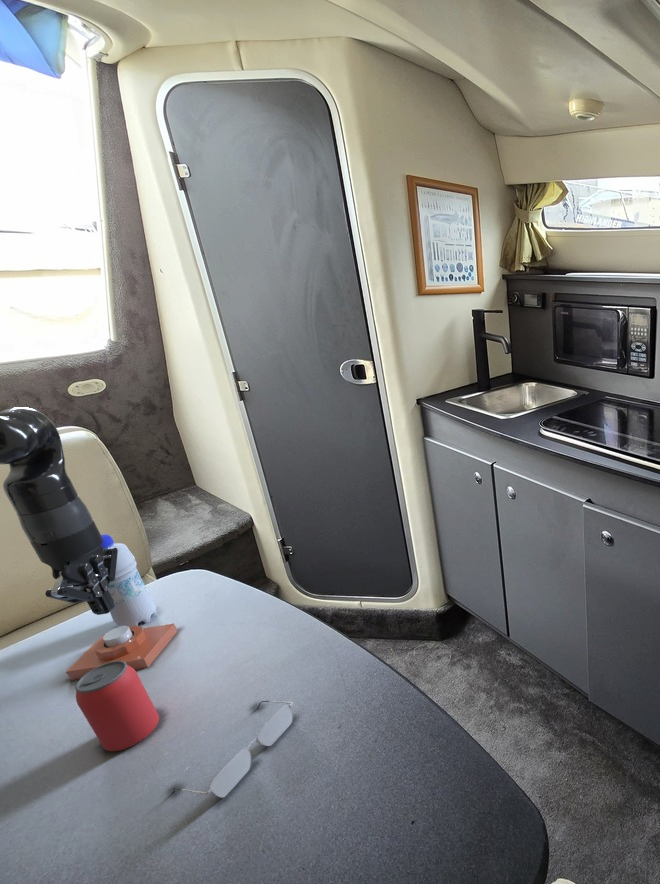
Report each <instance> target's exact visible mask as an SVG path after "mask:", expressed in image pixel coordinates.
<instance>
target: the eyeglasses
mask: <svg viewBox="0 0 660 884" xmlns="http://www.w3.org/2000/svg"><path fill="white" fill-rule="evenodd" d="M262 703H279V704H284V705H282V706H281V708H279V709H278V710H277V711H276V712H275V713H274V714H273V715H272V716H271V717H270V718H269V719H268V720H267V721H266V723H264V725H263V726H262V727H261V728H260V730H259V731H258V734H257V737H256V738H253V740H252V741H251V742H249V744H248V746H247V747H244V748H242V749H240V750H239V751H238V752H237V753H236V754H235V755H234V756H233V757H232V758H231V759H230V760H229V761H228V762H227V763H226V765H224V767H223V768H221V770H220V771H219V772H218V773H217V775H216V776H215V777H214V778H213V779H212V780H211V782H210V784H209V790H207V791H198V790H192V789H184V788H180V787H173V789H172V790H173V792H174V793H175V792H176V790H177V791H183V792H190V793H194V794H201V795H209V794H210V793H213V795H215V796H217V797H219V798H225V797H226V796H227V795H228V794H229V793H230V792H231V791H232V790H233V789H234V788H235V786H236V785H237V784H238V783H239V782H240V781H241V780H242V779H243V777H245V775H246V774H247V773H248V772H249V771H250V769H251V765H252V756H251V751H250V746H251V745H253V743H254V742H255V741H256V742H255V743H256V744H258V745H260V746H262V745H263V746H266V747H271V746H272V745H273V744H274V743H275V742H276V741H277V740H278V739H279V738H280V737H281V736H282V735H283V733H285V732H286V730H287V729H288V728H289V727H290V726H291V725H292V724H293V718H294V717H293V711H292V708H291V707H292V706H293V704H294V703H293V701H278V700H261V701H260V702H259V704H258V705H257V709H260V706H261V704H262Z"/></svg>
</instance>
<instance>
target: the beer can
mask: <svg viewBox="0 0 660 884" xmlns="http://www.w3.org/2000/svg"><path fill="white" fill-rule="evenodd" d="M74 690H75V701H76V704H77V706H78V708H79V709H80V711H81V713H82V714H83V716H84V718H85V720H86V721H87V723H88V725H90V728H91V729H92V731H93V733H94V734H95V736H96V738H97V739H98V741H99V743H100V744H101V746H102V748H103V749H104V750H105V751H108V752H119V751H123V750H126V749H129V748H132V747H134V746H135V745H137V744H139V743H141V742H143V740H145V739H146V738H147V737H149V736H150V735H151V734H152V732H153V731H154V730H155V729H156V727H157V726H158V724H159V722H160V715H159V713H158V711H157V709H156V707H155V705H154V703H153V702H152V699H151V697H150V696H149V694H148V692H147V690H146V688H145V686H144V684H143V682H142V680H141V678H140V677H139V675H138V672H137V671H136V669H133V668H132V667H130V666H128V665H127V664H126V662H124V661H112V662H108V663H105V664H103V665H100V666H98V667H96V668H94V669H92V670H91V671H89V672H88V673H86V674H85V675H84V676H83V677H81V678H80V679H78V681H77V682H76V683H75V686H74Z"/></svg>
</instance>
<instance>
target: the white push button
mask: <svg viewBox="0 0 660 884" xmlns="http://www.w3.org/2000/svg"><path fill="white" fill-rule="evenodd" d="M104 634H105V635H104V636H103V640H104V642H105V644H106V646H107V647H115V646H117V645H120V644H122V643H124V642H126V641H127V640H129V639H130V638H131V637H132V636H133V634H132V632H131V630H130V628H129V626H120V627H118V626H117V627H115V628H113V629H110V630H109V631H107V632H106V633H104Z"/></svg>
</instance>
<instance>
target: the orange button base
mask: <svg viewBox="0 0 660 884" xmlns="http://www.w3.org/2000/svg"><path fill="white" fill-rule="evenodd" d="M129 628H130V630H131V632H132V634H133V636H132V637H131V638H130V639H129V640H127V641H126V642H124V643H122V644H120V645H117V646H115V647H107V646H106V644H105V642H104V640H103V636H104V635H105V634H106V633H104V634H102V635H101V636H100V637H99V638H98V639H97V640H96V641H95V642H94V643H93V644H92V645H91V646H90V647H89V648H88V649H87V650H86V651H85V652H84V653H83V654H82V655H81V656H80V657H79V658H78V659H77V660H76V661H75V662H74V663H73V664H71V666H70V667H68V669H66V671H65V673H66V675H67V677H68V678H69V680H70V681H74V680H80V678H81V677H83V676H84V675H85V674H86V673H88V672H89V671H91V670H92V669H94V668H96V667H98V666H100V665H103V664H105V663H108V662H112V661H124V662H126V664H127V665H128V666H130V667H132V668H133V669H134V670H139V669H140V670H141V669H145V668H149V667H150V666H151V664H152V663H153V662H154V661H155V660H156V658H157V657H158V656H159V655H160V653H161V652H162V651H163V650H164V648H166V647H167V645H168V644H169V643H170V641H171V640H172V639H173V637H174V636H175V635H176V634H177V633H178V628H177V626H176V624H175V623H167V624H162V625H155V626H154V625H153V626H148V627H143V626H141V625H138V626H137V625H135V626H129Z"/></svg>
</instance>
